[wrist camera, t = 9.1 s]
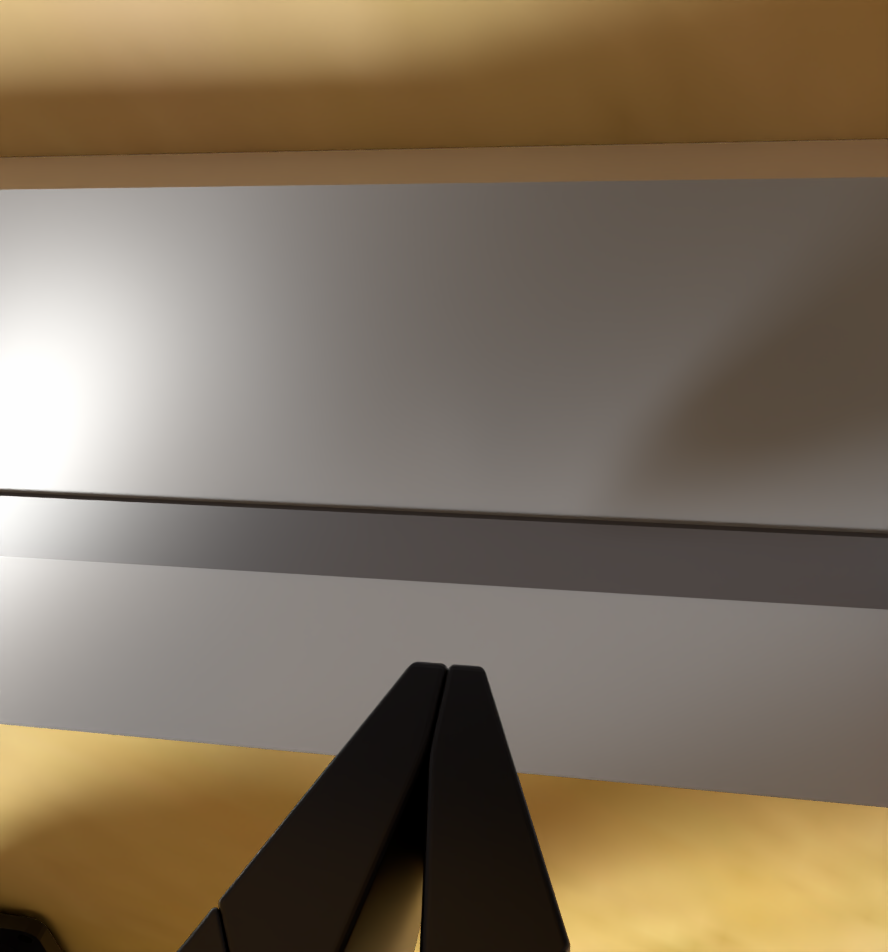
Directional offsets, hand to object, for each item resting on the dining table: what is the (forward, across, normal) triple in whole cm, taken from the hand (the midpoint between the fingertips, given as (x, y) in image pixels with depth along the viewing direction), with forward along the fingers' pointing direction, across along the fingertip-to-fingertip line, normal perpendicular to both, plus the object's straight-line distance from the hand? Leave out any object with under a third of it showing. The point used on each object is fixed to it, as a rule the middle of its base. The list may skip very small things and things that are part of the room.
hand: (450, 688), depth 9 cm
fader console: (+4, 0, 0) cm, 5 cm away
